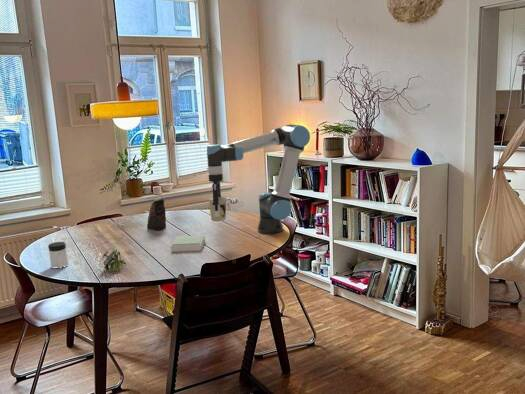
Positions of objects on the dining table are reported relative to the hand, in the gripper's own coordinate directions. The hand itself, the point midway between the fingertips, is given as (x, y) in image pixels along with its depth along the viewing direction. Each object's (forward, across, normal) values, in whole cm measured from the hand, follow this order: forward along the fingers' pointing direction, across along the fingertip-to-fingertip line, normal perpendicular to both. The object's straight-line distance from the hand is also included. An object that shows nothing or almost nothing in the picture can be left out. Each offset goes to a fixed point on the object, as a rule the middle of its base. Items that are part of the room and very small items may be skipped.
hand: (218, 214), depth 276 cm
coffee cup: (+3, 0, 0) cm, 3 cm away
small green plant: (+18, +31, -49) cm, 61 cm away
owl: (+18, -44, -45) cm, 66 cm away
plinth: (+18, 0, -18) cm, 25 cm away
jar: (+19, +24, -80) cm, 85 cm away
